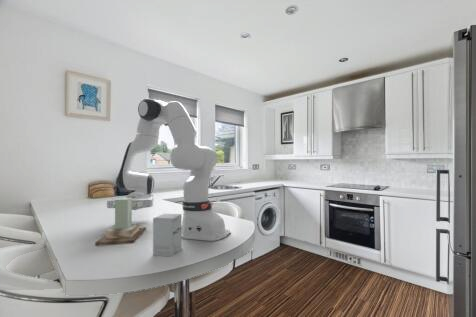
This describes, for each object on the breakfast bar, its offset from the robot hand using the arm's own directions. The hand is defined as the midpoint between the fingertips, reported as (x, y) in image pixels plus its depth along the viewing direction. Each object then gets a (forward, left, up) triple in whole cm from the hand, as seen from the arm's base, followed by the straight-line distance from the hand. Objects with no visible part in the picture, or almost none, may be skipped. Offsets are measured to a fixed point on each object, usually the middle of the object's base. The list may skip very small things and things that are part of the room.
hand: (125, 205), depth 99 cm
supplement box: (-32, +6, -13) cm, 35 cm away
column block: (-2, +2, -8) cm, 9 cm away
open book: (-2, +2, -13) cm, 13 cm away
